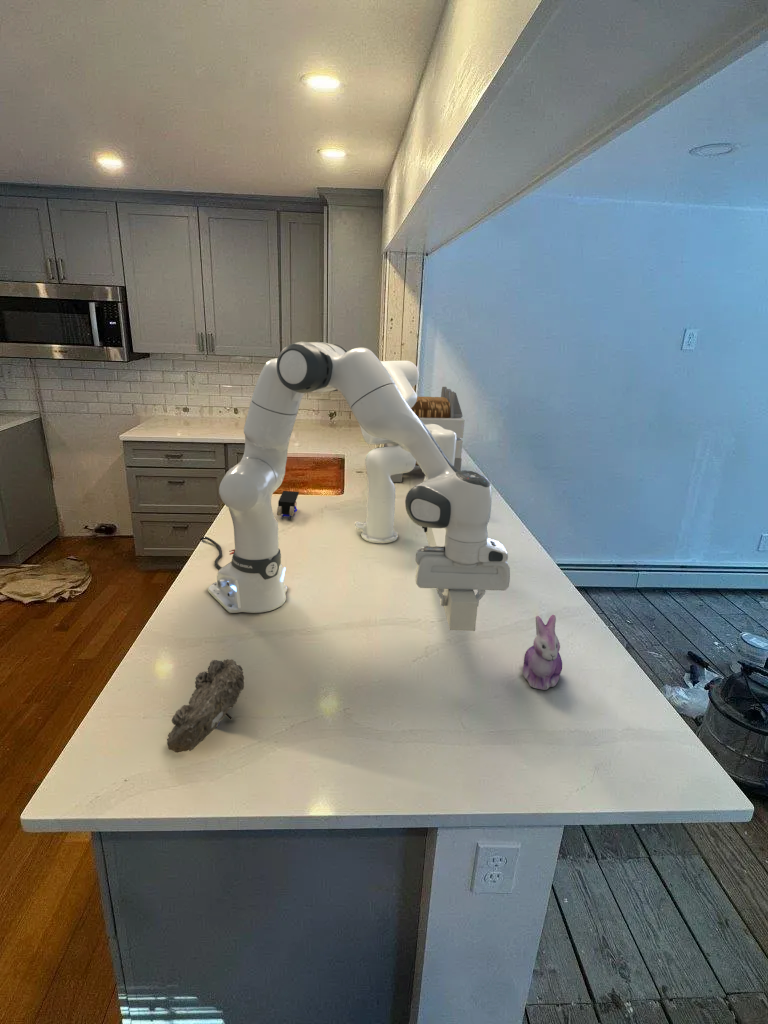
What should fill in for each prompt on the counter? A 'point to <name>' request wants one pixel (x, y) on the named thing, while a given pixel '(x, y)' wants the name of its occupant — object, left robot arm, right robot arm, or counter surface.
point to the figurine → (543, 656)
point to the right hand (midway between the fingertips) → (435, 530)
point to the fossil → (206, 705)
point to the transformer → (440, 420)
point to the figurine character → (287, 504)
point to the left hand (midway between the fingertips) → (459, 605)
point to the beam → (455, 594)
